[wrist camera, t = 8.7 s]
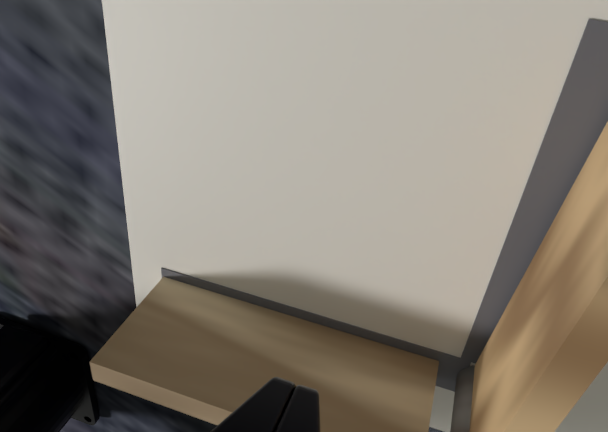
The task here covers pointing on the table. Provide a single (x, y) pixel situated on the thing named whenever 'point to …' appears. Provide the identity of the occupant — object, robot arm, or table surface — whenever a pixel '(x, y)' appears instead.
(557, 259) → the hinged fence panel
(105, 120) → the table surface
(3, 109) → the table surface
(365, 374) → the fixed fence panel
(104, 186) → the table surface
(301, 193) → the card
